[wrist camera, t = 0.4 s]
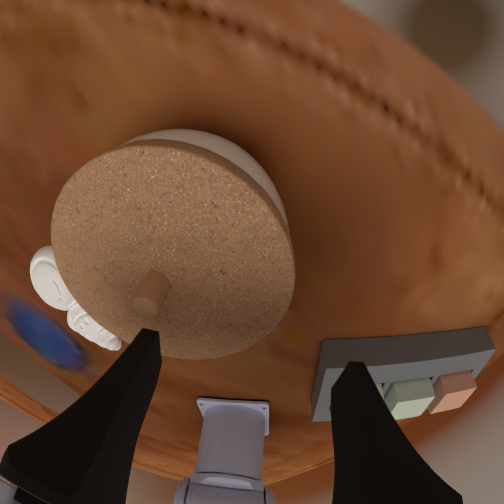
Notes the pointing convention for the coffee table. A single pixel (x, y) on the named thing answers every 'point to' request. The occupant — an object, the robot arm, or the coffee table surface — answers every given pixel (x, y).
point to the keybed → (400, 360)
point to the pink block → (451, 391)
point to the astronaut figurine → (66, 299)
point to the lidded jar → (176, 243)
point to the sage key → (409, 397)
